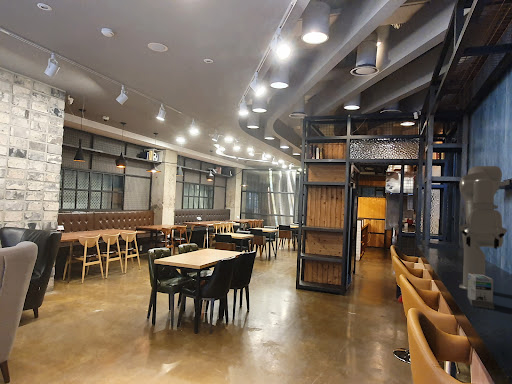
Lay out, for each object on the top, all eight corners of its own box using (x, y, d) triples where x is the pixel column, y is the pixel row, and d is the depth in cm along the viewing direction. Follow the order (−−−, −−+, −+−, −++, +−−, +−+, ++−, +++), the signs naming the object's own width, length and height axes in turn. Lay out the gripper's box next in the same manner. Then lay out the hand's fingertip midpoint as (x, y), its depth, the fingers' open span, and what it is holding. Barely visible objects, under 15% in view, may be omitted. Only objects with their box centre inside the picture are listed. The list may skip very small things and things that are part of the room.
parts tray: (468, 298, 158) (468, 293, 158) (488, 301, 155) (488, 295, 155) (471, 306, 145) (471, 299, 145) (493, 309, 142) (494, 302, 142)
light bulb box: (493, 305, 144) (494, 278, 145) (474, 303, 146) (475, 277, 147) (484, 299, 155) (484, 274, 155) (466, 297, 156) (467, 272, 157)
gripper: (505, 208, 151) (504, 248, 151) (459, 206, 159) (458, 244, 158) (509, 208, 145) (508, 250, 144) (460, 206, 152) (459, 246, 152)
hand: (482, 247), depth 151 cm, fingers open, 9 cm apart
